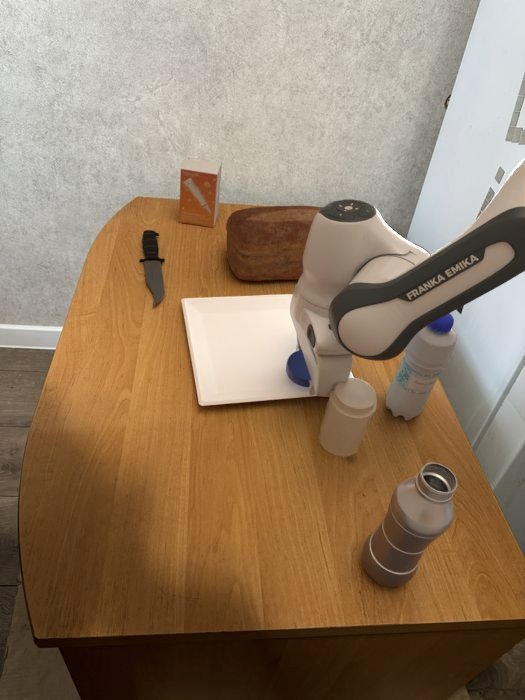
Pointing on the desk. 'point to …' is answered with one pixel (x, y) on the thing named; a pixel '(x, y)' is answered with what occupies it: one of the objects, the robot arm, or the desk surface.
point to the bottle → (421, 368)
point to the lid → (298, 369)
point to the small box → (199, 191)
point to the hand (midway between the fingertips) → (307, 372)
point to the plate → (241, 348)
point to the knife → (153, 265)
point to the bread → (268, 241)
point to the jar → (347, 417)
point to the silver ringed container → (410, 525)
